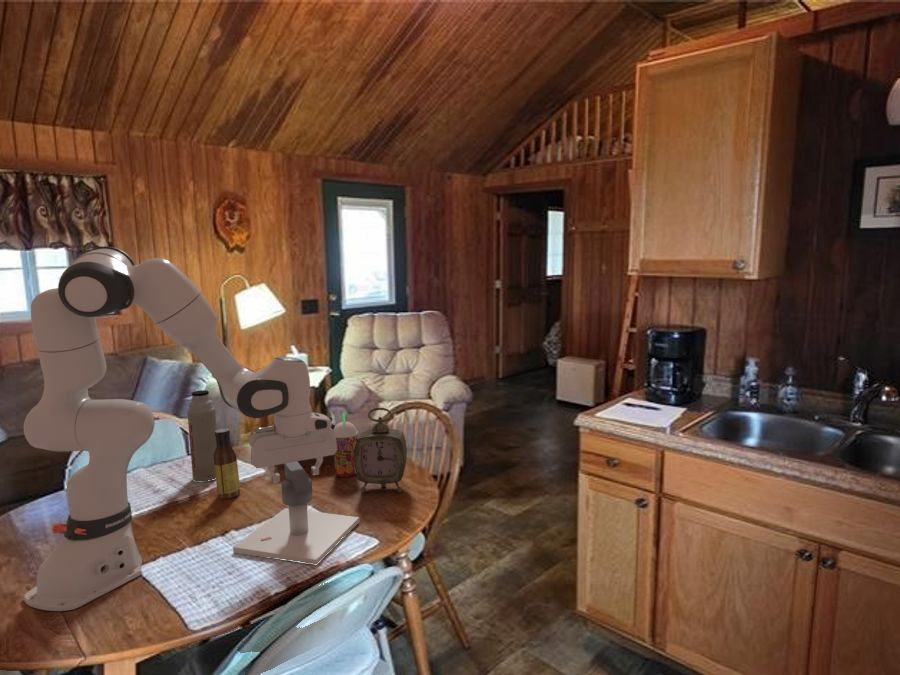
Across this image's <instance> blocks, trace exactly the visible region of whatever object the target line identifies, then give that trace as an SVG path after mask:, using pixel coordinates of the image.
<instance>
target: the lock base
mask: <svg viewBox="0 0 900 675" xmlns="http://www.w3.org/2000/svg"><path fill="white" fill-rule="evenodd" d="M358 523H359V524H360V517H359V516H354V515H353V516H352V515H351V516H350V515H343V514H335V513H327V512H320V511H312V510H308V503H306V504H303V505H298V506H288V508H287V507H285V508H283V509H281V511H279V512H278V513H276V514H275V515H274V516H273V517H271V518H270V519H269V520H267V521H266V522H264V523H263V524H262V525H261V526H259V527H258V528H256V529H255V530H254V531H252V532H251V533H250V534H248V535H247V536H245V537H244V538H243V539H242V540H240V541H238V543H236V544H235V545H234V546H232V550H233V552H234V553H233V554H237V553H241V554H240V555H243V554H246V555H245V556H249V555H253V556H252V557H256V556H262V557H270V558H279V559H286V560H293V561H300V562H305V563H313V564H317V563H318V562H319V561H320V560H321V559H322V558H323V557H324V556H325V555H326V554H327V553H328V552H329V551H330V550H331V549H332V548H333V547H334V546H335V545H336V544H337V543H338V542H339V541H340V540H341V538H342V537H344V536H345V535H346V534H347V533H348V532H349V531H350V530H352V529H353V528H354V527H355V526H356V525H357V524H358ZM359 524H358V525H359ZM358 525H357V526H358ZM357 526H356V527H357ZM356 527H355V528H356ZM355 528H354V529H355ZM354 529H353V530H354ZM353 530H352V531H353ZM262 557H261V558H262Z"/></svg>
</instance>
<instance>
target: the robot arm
mask: <svg viewBox="0 0 900 675" xmlns="http://www.w3.org/2000/svg"><path fill="white" fill-rule="evenodd" d="M132 305H135V306H137V307H139V308H140V309H142V311H144V312H145V313H146V315H147V316H148V317H149V318H150V319H151V320H152V322H153V323H154V324H155V325H156V326H157V327H158V328H159V329H160V330H161V331H162V332H163V333H164V334H165V335H166V336H167V337H169V339H170V340H172V341H173V342H175V343H176V344H178V346H180V347H181V348H184V349H186V350H188V351H189V352H190V353H192V354H193V355H194V356H195V357H196V358H197V359H198V360H199V361H200V362H201V364H202V365H203V366H204V367H205V368H206V369H207V370H208V372H209V373H210V374H211V375H212V377H213V378H214V379H215V381H216V383H217V386H218V389H219V394H220V397H221V399H222V400H223V402H224V403H225V404H226V405H227V406H228V407H230V408H233V409H234V410H236V411H238V412H239V413H241V414H242V415H243V416H245V417H247V418H251V419H260V418H264V417H268V416H271V415H273V425H271V426H265V427H257V428H255V429H254V430H252V431H251V432H250V433H249V434H248V444H249V446H250V447H251V449H250V461H251V464H252V465H253V467H255V468H256V469H260V468H261V469H262V468H267V470H268V472H270V474H271V476H272V482H273V483H274V484H277V483H280V482H281V479H280V478H281V475H280V473H279V472H275V471H274V470H275V468H276V467H275V466H278V465H279V464H284V463H290V462H296V461H301V460H307V459H312V458H315V459H316V460H317V461H316V464H315V466H310V468H311V471H310V472H311V474H312V476H316V475H320V468H321V466H322V465H321V464H322V462H323V457H324V456H329V455H334V454H335V453H336V451H337V443H336V437H335V433H334V431H333V430H332V429H331V428H330V427H331V425H333V424H332V420H331V419H330V418H329V417H328V416H327V415H325V414H323V413H319V412H312V405H311V404H310V397H311V381H310V373H309V368H308V365H307V363H306V362H305V361H303V360H302V359H300V358H297V357H293V356H277V357H274V358H273V360H272V361H271V362H270V363H268V364H267V365H266V366H265V367H263V368H261V369H260V370H258V371H254V370H252V369H251V368H249V367H246V366H244V365H242V364H240V362H238V360H237V359H235V357H234V356H233V354H232V353H231V352H230V351H229V350H228V348H227V347H226V346H225V344H224V343H223V342H222V341H221V339H220V337H219V335H218V333H217V329H218V328H217V327H218V322H219V321H218V316H217V314H216V312H215V310H214V308H213V307H212V305H211V304H210V302H209V300H208V299H207V298H206V297H205V295H204V294H203V293H202V291H201V290H200V289H199V288H198V287H197V286H196V285H195V283H194V282H192V280H191V279H190V278H189V277H188V276H186V274H184V272H182V270H180V269H179V268H178V267H177V266H175V265H174V264H173V263H172V262H171V261H169V260H167V259H166V258H161V257H155V258H149V259H145V260H144V261H142V262H139V264H135V262H134V260H133V259H132V257H131V256H130V255H129V254H128V253H126V252H125V251H123V250H121V249H120V248H117V247H113V246H99V247H95V248H92V249H90V250H88V251H87V252H85V253H83V254H81V255H80V256H78V257H77V258H76V259H74V261H73V262H72V263H71V265H70V266H68V267H67V268H66V269H65V270H64V271H63V272H62V274H61V275H60V278H59V280H58V285H57V287H55V288H51V289H46V290H44V291H42V292H41V293H39V294H37V295H35V297H33V299H32V301H31V304H30V319H31V320H30V321H31V328H32V329H31V330H32V335H33V340H34V344H35V348H36V351H37V356H38V359H39V363H40V367H41V371H42V375H43V384H44V386H43V387H44V388H43V393H42V395H41V396H42V397H41V399H40V400H39V402H38V403H37V404H36V405H35V406H34V407H32V408H31V409H30V410H29V412H28V413H27V414H26V416H25V419H24V423H23V434H24V437H25V439H26V441H27V442H28V443H29V445H30V446H31V447H33V448H35V449H40V450H46V451H51V452H83V451H84V452H88V456H89V459H88V464H86V465H84V466H81V468H79V469H77V470H76V471H75V472H74V473H73V474H72V475H71V476H70V477H69V479H68V482H67V484H66V490H67V499H68V500H67V501H68V510H69V511H68V512H69V514H68V516H67V519H66V524H64V523H60V522H56V523H54V524H53V525H52V527H51V531H52V533H53V534H60V535H62V534H63V537H62V538H61V540H60V541H59V542H58V543H57V545H56V546H55V547H54V549H52V551H51V552H50V553H49V554H48V556H47V557H46V558H45V559H44V561H43V562H42V563H41V564H40V565H39V567H38V569H37V574H36V585H35V586H34V587H32V588H31V589H30V590H28V591H27V592H26V593H25V594H24V597H23V602H24V603H25V604H26V605H27V606H29V607H31V608H34V609H36V610H37V609H38V610H42V611H49V612H50V611H51V612H64V611H71V610H76V609H78V608H80V607H83V606H84V605H86V604H88V603H90V602H91V601H93V600H95V599H97V598H100V597H101V596H103V595H105V594H107V593H109V592H111V591H113V590H114V589H117V588H118V587H121V586H122V585H124V584H126V583H127V582H128V583H129V581H132V580H134V579H135V578H137V577H139V576H141V575H142V574H143V571H142V567H141V566H142V564H143V558H142V556H141V554H140V552H139V550H138V547H137V544H136V541H135V536H134V533H133V528H132V522H131V521H132V520H133V515H132V513H133V512H132V508H131V507H132V506H131V503H130V502H129V501H128V500H129V499H128V498H129V497H128V480H127V479H128V478H127V475H128V469H129V464H130V462H131V459H132V458H133V456H134V455H135V454H136V452H137V451H138V450H139V449H140V448H141V447H142V446H143V445H145V444H146V443H147V442H148V441H149V439H150V438H151V436H152V434H153V432H154V429H155V415H154V413H153V411H152V410H151V408H150V406H148V404H146V403H145V402H142V401H137V400H136V401H135V400H131V399H124V398H115V399H114V398H110V399H104V398H103V399H94V398H91V397H90V396H89V392H88V391H89V390H88V389H90V388H92V387H93V386H95V385H96V384H97V383H99V382H100V381H101V380H103V378H104V377H105V374H106V372H107V361H106V357H105V354H104V349H103V345H102V340H101V337H100V333H99V328H98V324H97V318H96V317H103V316H105V315H109V314H111V313H114V312H118V311H123V310H127V309H128V308H130V307H131V306H132Z"/></svg>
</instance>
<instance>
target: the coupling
mask: <svg viewBox="0 0 900 675" xmlns="http://www.w3.org/2000/svg"><path fill="white" fill-rule="evenodd" d="M284 468H285V469H284V476H285V478H286V479H284V480H283V481H282V482H281V484H280V486H281V497H282V498H281V499H282V500H281V501H282V504H284V505H286V506H288V507H289V506H298V505H303V504H306V503H307V504H309V503H310V502H312V500H313V499H314V498H313V482H312V478H310V477H309V474H308V473H307V472H306V470H305V469H304V467H301V465H300V464H299V463H298V462H297V461H296V462H290V463H284Z"/></svg>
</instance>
